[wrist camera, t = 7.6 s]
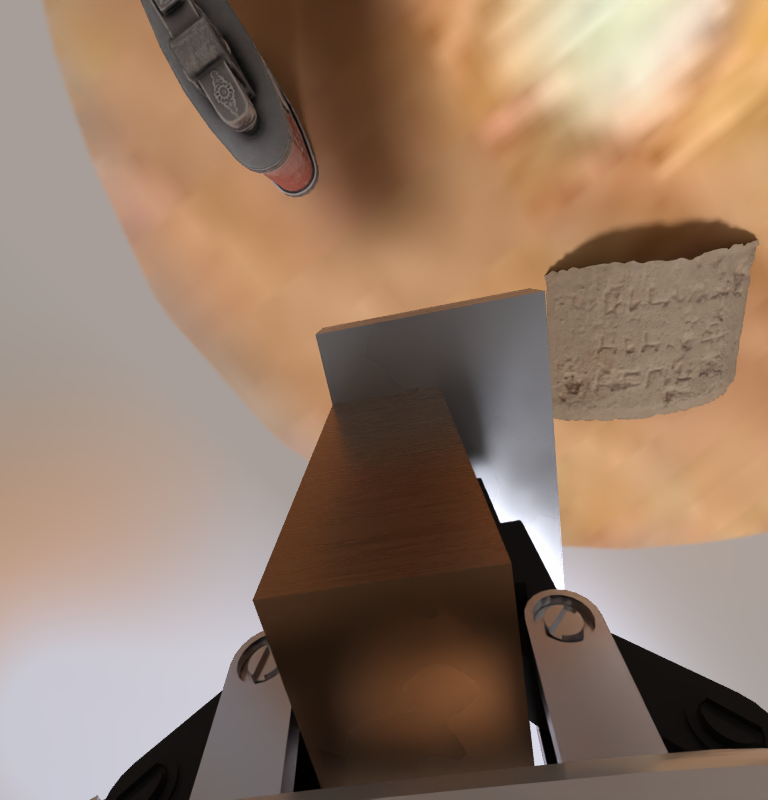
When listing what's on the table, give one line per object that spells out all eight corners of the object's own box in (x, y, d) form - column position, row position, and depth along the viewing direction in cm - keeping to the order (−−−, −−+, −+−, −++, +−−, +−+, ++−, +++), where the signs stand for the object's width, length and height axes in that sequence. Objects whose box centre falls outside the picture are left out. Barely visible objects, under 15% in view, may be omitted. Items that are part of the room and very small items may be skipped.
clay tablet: (759, 235, 25) (800, 233, 23) (740, 389, 28) (775, 402, 26) (524, 273, 26) (538, 274, 24) (531, 418, 29) (544, 433, 27)
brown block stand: (322, 327, 12) (196, 446, 4) (529, 288, 11) (822, 336, 4) (396, 637, 16) (402, 1009, 8) (554, 616, 15) (729, 987, 7)
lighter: (332, 177, 24) (294, 121, 15) (284, 209, 25) (218, 174, 15) (252, 32, 22) (147, -144, 12) (202, 70, 23) (66, -71, 13)
